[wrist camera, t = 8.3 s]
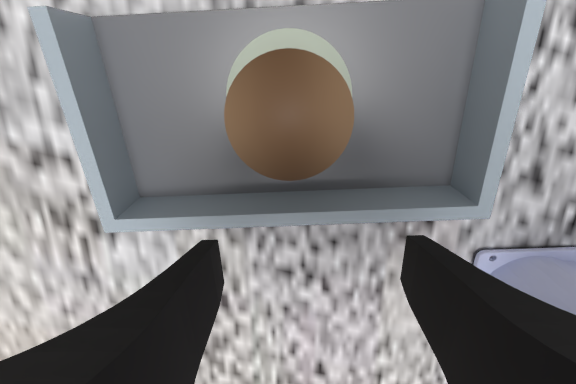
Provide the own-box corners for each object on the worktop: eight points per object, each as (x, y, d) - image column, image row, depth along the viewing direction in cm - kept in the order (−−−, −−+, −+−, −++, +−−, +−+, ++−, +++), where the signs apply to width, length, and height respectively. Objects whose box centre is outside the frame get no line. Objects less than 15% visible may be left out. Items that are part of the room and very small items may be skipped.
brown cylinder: (333, 52, 15) (358, 44, 10) (331, 142, 17) (351, 179, 12) (242, 56, 15) (215, 51, 10) (250, 145, 17) (231, 182, 12)
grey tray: (495, -4, 15) (552, -23, 12) (455, 192, 19) (489, 218, 16) (83, 19, 16) (27, 7, 12) (135, 204, 20) (104, 232, 17)
